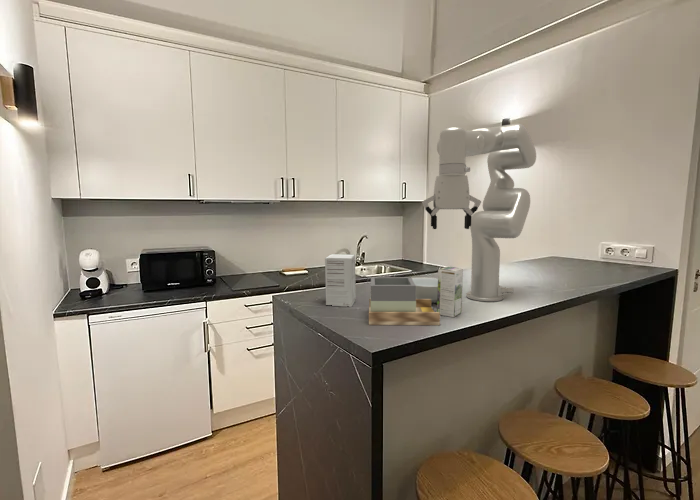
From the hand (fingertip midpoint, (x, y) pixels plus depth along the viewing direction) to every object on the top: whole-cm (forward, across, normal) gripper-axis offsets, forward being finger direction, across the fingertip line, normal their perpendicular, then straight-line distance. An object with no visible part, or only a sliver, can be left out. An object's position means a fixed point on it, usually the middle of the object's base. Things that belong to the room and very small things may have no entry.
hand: (450, 228), depth 110 cm
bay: (+27, +15, +3) cm, 31 cm away
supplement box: (+27, +35, -13) cm, 46 cm away
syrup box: (+27, 0, 0) cm, 27 cm away
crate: (+25, +18, +3) cm, 31 cm away
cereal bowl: (+27, +4, -17) cm, 32 cm away
